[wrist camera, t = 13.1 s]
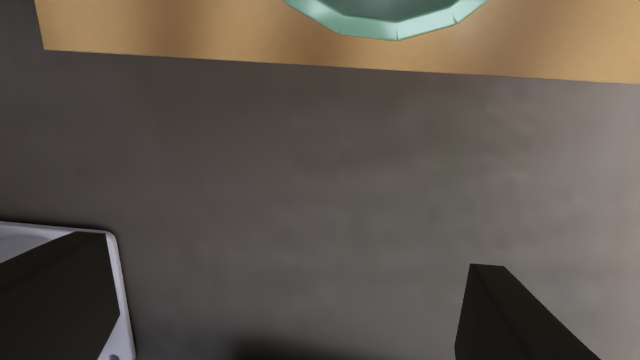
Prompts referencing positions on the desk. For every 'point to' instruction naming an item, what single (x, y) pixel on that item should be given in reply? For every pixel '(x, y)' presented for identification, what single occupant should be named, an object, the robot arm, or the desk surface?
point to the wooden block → (356, 52)
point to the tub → (386, 16)
